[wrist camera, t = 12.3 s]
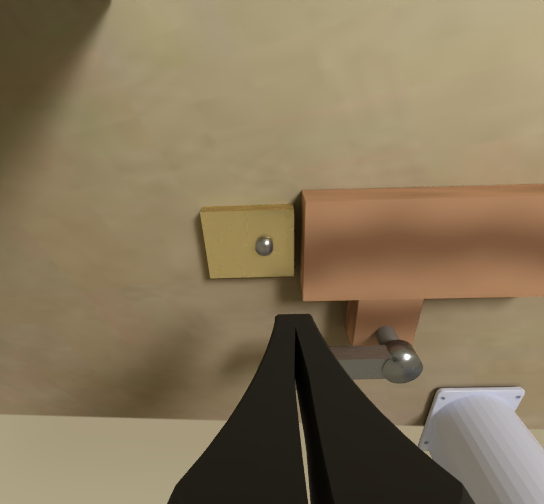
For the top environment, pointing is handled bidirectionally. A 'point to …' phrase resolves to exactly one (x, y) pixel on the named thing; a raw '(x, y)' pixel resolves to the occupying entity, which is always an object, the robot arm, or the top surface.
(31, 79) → the top surface
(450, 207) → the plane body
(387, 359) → the lever
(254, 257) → the wooden block with bolt
